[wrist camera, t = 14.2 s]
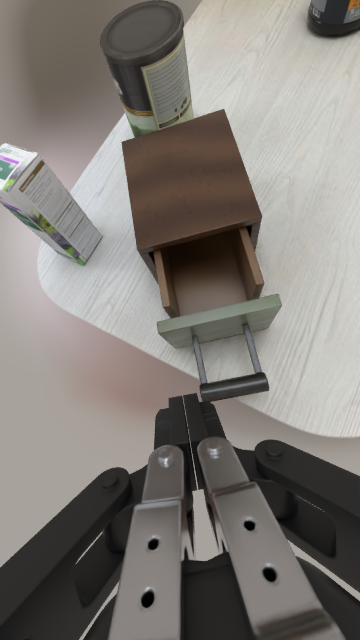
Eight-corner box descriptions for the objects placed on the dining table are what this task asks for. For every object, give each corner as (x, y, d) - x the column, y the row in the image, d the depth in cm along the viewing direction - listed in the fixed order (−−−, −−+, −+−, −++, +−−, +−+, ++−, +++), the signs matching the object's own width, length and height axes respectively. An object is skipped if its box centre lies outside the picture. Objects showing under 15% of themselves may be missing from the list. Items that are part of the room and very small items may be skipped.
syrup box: (57, 254, 40) (-32, 180, 26) (77, 224, 41) (2, 138, 27) (84, 266, 38) (4, 194, 24) (104, 235, 39) (38, 149, 26)
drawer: (286, 386, 27) (308, 383, 20) (184, 406, 29) (170, 409, 21) (237, 228, 34) (240, 182, 27) (157, 250, 36) (138, 211, 28)
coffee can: (136, 169, 42) (95, 65, 29) (140, 125, 45) (103, 12, 32) (197, 160, 40) (182, 44, 27) (196, 114, 43) (182, -10, 30)
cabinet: (252, 265, 33) (262, 216, 24) (160, 288, 35) (137, 249, 25) (224, 177, 38) (224, 108, 29) (145, 200, 40) (121, 141, 30)
